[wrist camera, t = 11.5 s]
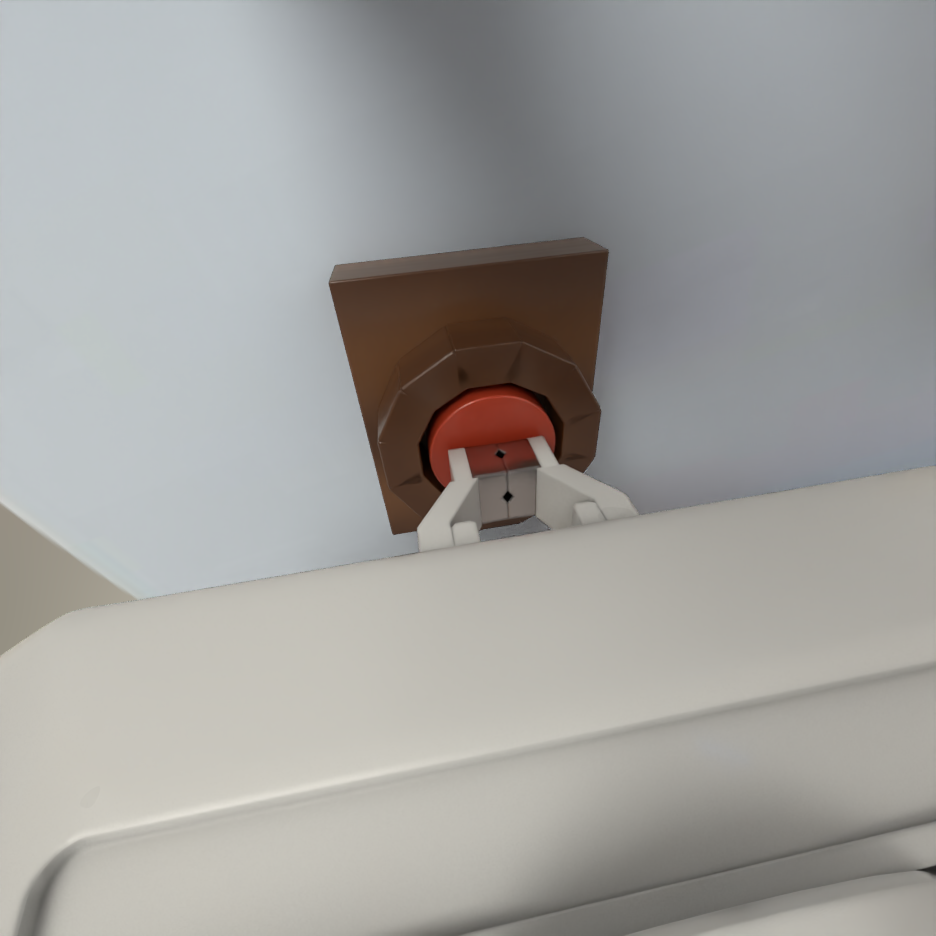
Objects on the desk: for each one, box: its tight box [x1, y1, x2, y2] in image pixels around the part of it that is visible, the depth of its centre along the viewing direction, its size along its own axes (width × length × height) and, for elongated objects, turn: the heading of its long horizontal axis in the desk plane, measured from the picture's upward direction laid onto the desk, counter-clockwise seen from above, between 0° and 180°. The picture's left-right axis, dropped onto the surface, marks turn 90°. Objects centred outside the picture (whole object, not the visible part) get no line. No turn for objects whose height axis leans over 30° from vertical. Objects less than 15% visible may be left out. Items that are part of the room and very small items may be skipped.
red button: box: [425, 383, 555, 488], centre depth 14 cm, size 4×4×2 cm
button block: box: [329, 237, 609, 535], centre depth 15 cm, size 10×8×4 cm
